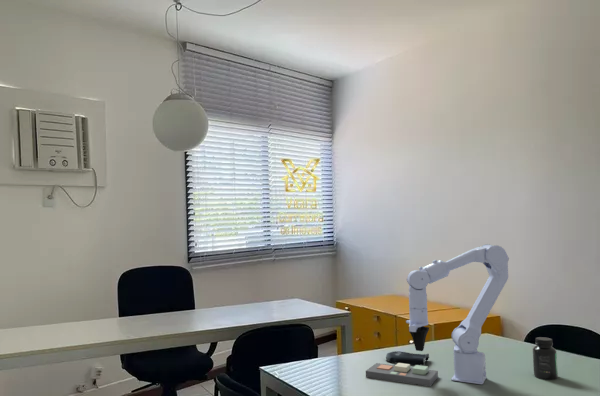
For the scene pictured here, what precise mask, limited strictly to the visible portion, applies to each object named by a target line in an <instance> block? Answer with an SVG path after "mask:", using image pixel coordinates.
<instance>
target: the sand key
mask: <svg viewBox="0 0 600 396" xmlns="http://www.w3.org/2000/svg"><path fill="white" fill-rule="evenodd" d="M410 367H411V365H410V364H404V363H395V366H394V368H395V371H399V372H406V373H407V372H408V371H409V370H410Z"/></svg>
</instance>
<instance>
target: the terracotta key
mask: <svg viewBox="0 0 600 396" xmlns="http://www.w3.org/2000/svg"><path fill="white" fill-rule="evenodd" d="M380 364H381V365H380V366H379V367H377V369H382V370H391V369H392V368H393V366H389V365H390V364H388V365H382V364H383V363H380Z"/></svg>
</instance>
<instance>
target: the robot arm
mask: <svg viewBox="0 0 600 396" xmlns="http://www.w3.org/2000/svg"><path fill="white" fill-rule="evenodd" d="M509 259H510V258H509V256H508V254H507V251H506V249H505V248H504V247H502V246H500V245H497V244H496V245H493V244H490V243H489V244H488V243H487V244H483V245H482V246H477V247H473V248H472V249H469V250H466V251H465V252H463V253H460V254H459V255H457V256H454V257H453V258H450V259H448V260H446V261H443V260H441V259H439V260H437V259H433V260H432V261H431V262H432V263H430V264H428V265H425V266H423V265H422V266H419V267H418V269H414V270H411V271H410V272H409V273H408V274H407V278H406V283H407V284H408V307H409V309H408V312H409V319H407V320H405V323H406V324H408V326H409V327H408V332H409V333H410V336H411V338H412V340H413V345H414V348H415V351H416V352H417V351H419V352H423V351H424V349H425V344H426V339H427V335H428V333H429V330H430V327H428V325H429V317H428V316H429V315H428V295H427V287H428V284H430V285H431V284H432V283H436V282H438V281H440V280H442V279H444V278H447V277H448V276H449V274H450V272H451V271H453V270H455V269H456V270H457V269H458V268H461V267H463V266H467V265H469V264H471V263H482V264H483V265H484V266H485V268H486V270H487V274H488V275H489V276H488V278H487V280H486V282H485V283H484V285H483V287H482V289H481V290H480V292H479V294H478V296H477V298H476V299H475V301H474V303H473V305H472V307H471V309H470V310H469V312H468V314H467V316H466V318H464V319H463V320H462V321H461V322H460V323H459V325H458V326H457V327H455V328H454V329H453V331H452V332H451V339H452V342H453V343H454V347H453V349H452V350H453V370H454V373H453V376H452V377H451V378H450V379H451V381H453V382H455V381H456V382H461V383H470V384H475V385H476V384H477V385H484V382H485V381H486V379H487V368H486V354H485V353H484V352H482V351H478V347H479V342H480V341H479V340H480V337H481V335H482V327H483V325H484V323H485V321H486V320H487V317H488V316H489V314H490V312H491V311H492V309H493V307H494V305H495V303H496V301H497V299H498V298H499V296H500V294H501V292H502V291H503V289H504V287H505V285H506V284H507V282H508V280H509Z"/></svg>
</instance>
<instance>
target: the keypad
mask: <svg viewBox="0 0 600 396" xmlns="http://www.w3.org/2000/svg"><path fill="white" fill-rule="evenodd" d="M381 364H382V365H389V366H393V368H392V369H391V370H382V369H377V367H379V366H380V365H381ZM395 365H396V364H395ZM395 365H394V364H387V363H380V362H376V363H374V364H373V365H372V366H370V367H369V368H367V369H366V370H365V378H369V379H376V380H383V381H391V382H396V383H397V382H398V383H404V384H411V385H416V384H418V386H423V385H424V386H423V387H431V386H432V385H433V384H434V382H435V381H437V379H438V378H439V371H438V370H434V369H428V373H427V374H426V375H421V374H414V373H413V367H411V366H410V370H409V371H408V372H407V373H406V372H399V371H395V368H394V366H395Z"/></svg>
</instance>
